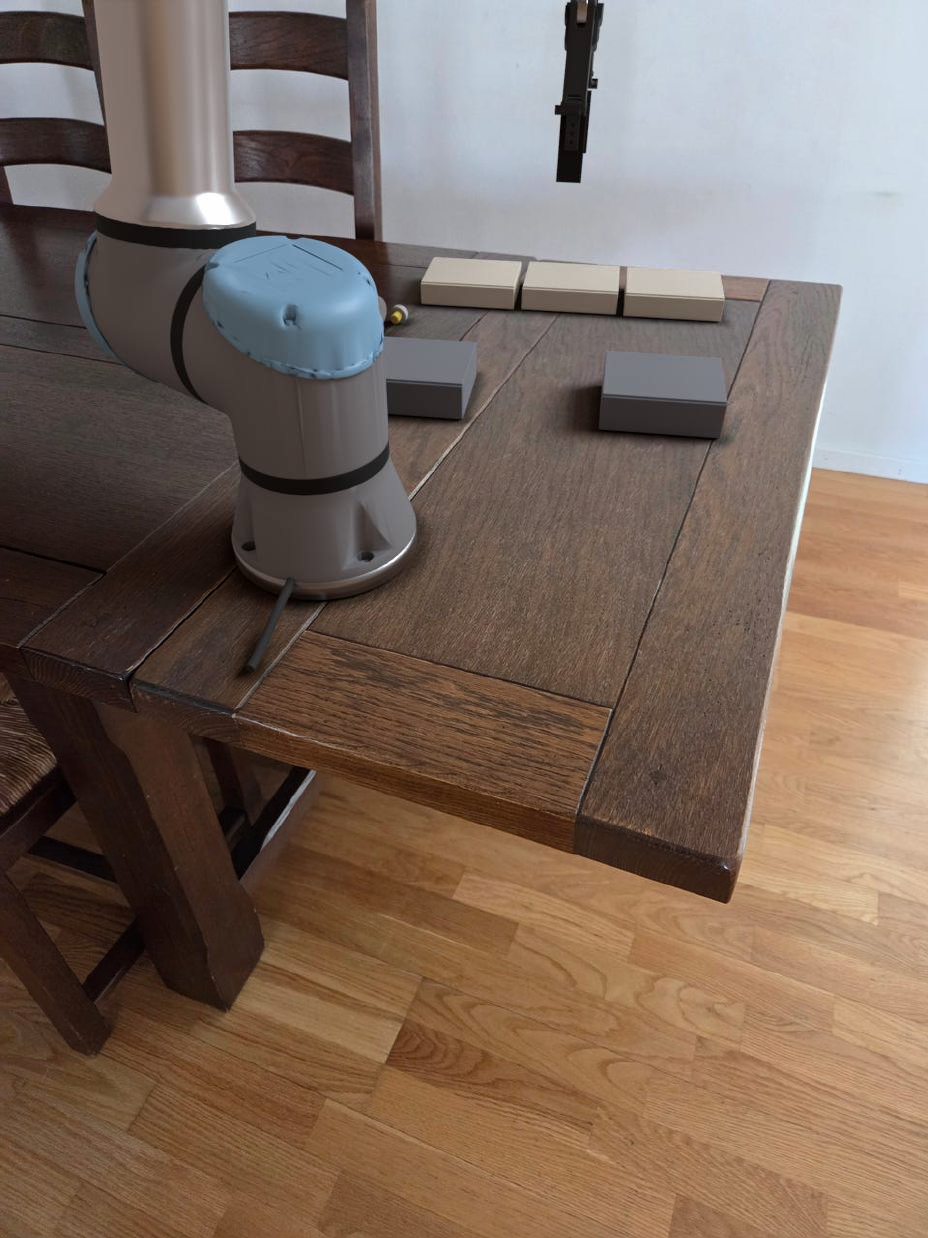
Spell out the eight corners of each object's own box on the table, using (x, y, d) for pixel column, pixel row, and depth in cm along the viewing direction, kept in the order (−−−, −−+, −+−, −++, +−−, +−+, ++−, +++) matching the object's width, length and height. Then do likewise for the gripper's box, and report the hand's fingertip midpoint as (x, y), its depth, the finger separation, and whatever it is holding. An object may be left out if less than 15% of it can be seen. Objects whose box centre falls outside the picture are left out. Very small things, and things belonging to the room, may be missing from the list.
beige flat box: (615, 315, 109) (618, 292, 107) (521, 310, 110) (522, 286, 108) (617, 288, 116) (619, 265, 114) (528, 283, 117) (529, 261, 115)
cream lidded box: (720, 322, 107) (725, 298, 105) (623, 316, 108) (626, 293, 106) (715, 294, 114) (719, 271, 112) (624, 289, 115) (627, 266, 113)
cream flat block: (513, 310, 110) (513, 287, 108) (421, 305, 111) (420, 281, 109) (520, 283, 117) (521, 261, 115) (434, 279, 118) (433, 256, 116)
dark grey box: (719, 440, 85) (727, 403, 83) (598, 431, 87) (602, 394, 84) (713, 392, 93) (720, 357, 90) (602, 384, 94) (605, 349, 92)
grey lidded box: (462, 421, 88) (461, 385, 86) (348, 412, 90) (345, 377, 87) (476, 376, 96) (476, 341, 93) (371, 369, 98) (369, 335, 95)
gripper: (627, -61, 76) (600, 197, 90) (629, -73, 95) (607, 142, 109) (543, -62, 77) (529, 194, 91) (561, -74, 95) (547, 140, 109)
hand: (571, 166), depth 100 cm, fingers open, 13 cm apart
